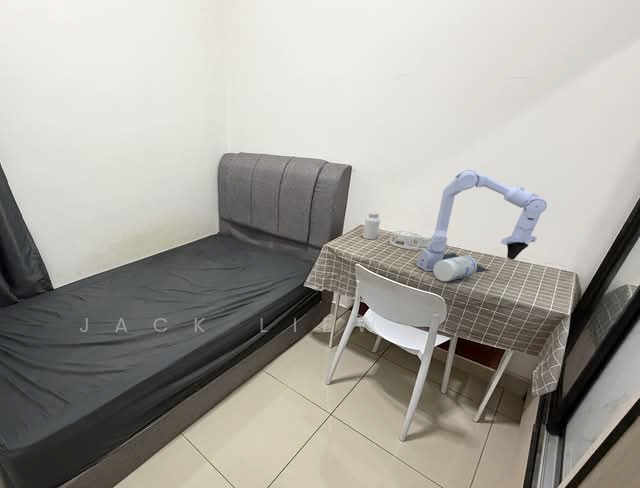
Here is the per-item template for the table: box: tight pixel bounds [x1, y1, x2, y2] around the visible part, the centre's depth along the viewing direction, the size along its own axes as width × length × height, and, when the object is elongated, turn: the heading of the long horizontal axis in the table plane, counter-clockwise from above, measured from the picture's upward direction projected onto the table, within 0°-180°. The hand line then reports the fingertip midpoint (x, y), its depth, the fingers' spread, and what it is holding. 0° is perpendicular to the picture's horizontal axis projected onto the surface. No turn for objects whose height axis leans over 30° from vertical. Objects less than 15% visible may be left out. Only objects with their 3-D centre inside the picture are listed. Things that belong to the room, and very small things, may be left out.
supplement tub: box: [432, 254, 478, 282], centre depth 132 cm, size 10×10×15 cm
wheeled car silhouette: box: [389, 229, 433, 251], centre depth 167 cm, size 20×11×7 cm, turn 41°
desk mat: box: [442, 253, 488, 273], centre depth 148 cm, size 16×20×1 cm
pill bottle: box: [362, 211, 381, 240], centre depth 178 cm, size 8×8×15 cm
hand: (510, 258), depth 127 cm, fingers closed
